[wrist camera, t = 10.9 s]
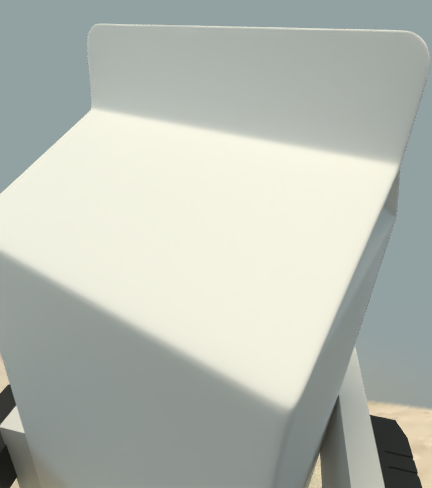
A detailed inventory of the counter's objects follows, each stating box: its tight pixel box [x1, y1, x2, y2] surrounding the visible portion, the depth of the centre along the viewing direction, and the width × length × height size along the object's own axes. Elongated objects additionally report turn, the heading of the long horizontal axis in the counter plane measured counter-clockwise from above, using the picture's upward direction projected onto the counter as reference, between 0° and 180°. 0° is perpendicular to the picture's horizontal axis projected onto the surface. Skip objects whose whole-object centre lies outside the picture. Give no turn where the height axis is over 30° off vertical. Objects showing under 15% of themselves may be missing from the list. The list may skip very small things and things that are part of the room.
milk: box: [0, 24, 430, 488], centre depth 10 cm, size 6×6×22 cm
